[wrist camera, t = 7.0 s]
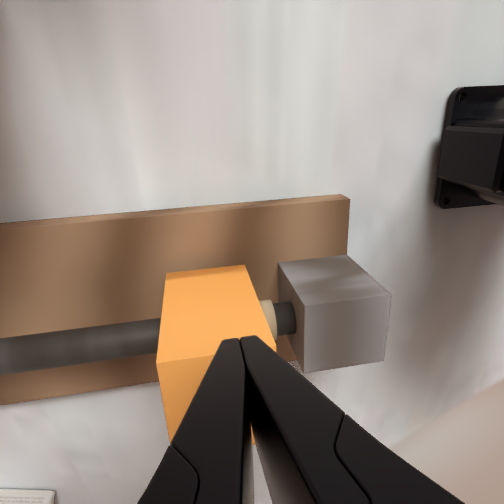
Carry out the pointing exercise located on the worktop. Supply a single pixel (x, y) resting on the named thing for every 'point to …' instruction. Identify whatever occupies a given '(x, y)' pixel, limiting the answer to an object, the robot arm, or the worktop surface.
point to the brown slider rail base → (153, 283)
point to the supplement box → (26, 496)
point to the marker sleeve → (202, 330)
